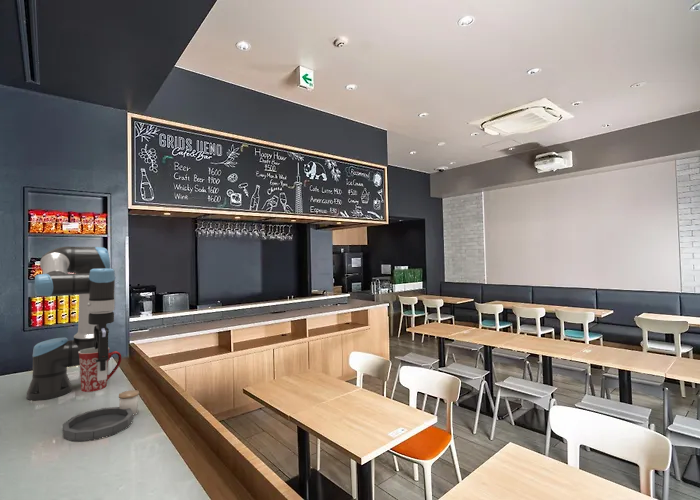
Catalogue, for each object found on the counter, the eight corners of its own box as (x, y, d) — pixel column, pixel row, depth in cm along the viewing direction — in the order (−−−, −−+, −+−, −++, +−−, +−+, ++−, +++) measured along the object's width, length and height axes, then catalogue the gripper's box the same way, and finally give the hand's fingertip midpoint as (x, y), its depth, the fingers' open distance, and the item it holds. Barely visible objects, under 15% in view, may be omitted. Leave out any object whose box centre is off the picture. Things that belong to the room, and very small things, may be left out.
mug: (77, 395, 120) (78, 354, 121) (77, 387, 128) (77, 349, 128) (122, 387, 128) (123, 348, 129) (119, 380, 135) (120, 343, 136)
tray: (61, 425, 129) (61, 417, 129) (126, 410, 142) (126, 402, 142) (64, 448, 114) (65, 438, 114) (137, 428, 127) (137, 420, 127)
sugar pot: (116, 413, 139) (117, 392, 139) (136, 408, 143) (136, 388, 144) (120, 419, 134) (120, 397, 134) (140, 414, 138) (140, 393, 139)
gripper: (85, 309, 134) (83, 371, 133) (92, 316, 118) (90, 387, 118) (109, 308, 139) (108, 367, 138) (119, 314, 123) (118, 381, 123)
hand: (100, 376), depth 128 cm, fingers closed on mug, 8 cm apart
